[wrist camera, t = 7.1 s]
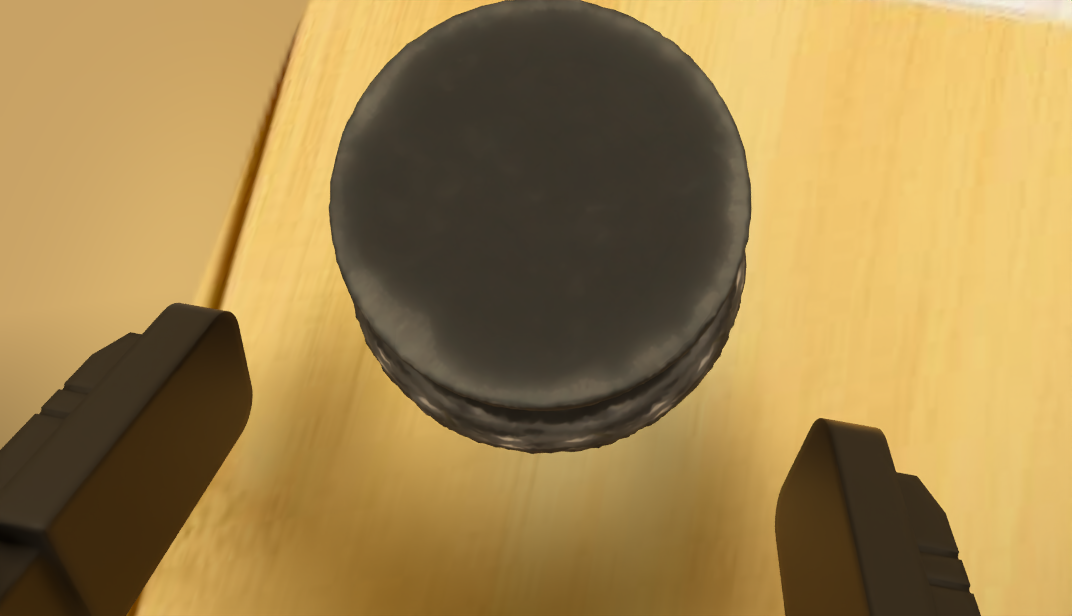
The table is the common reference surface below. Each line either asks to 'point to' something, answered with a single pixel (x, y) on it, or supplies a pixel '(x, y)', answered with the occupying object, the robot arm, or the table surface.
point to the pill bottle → (542, 223)
